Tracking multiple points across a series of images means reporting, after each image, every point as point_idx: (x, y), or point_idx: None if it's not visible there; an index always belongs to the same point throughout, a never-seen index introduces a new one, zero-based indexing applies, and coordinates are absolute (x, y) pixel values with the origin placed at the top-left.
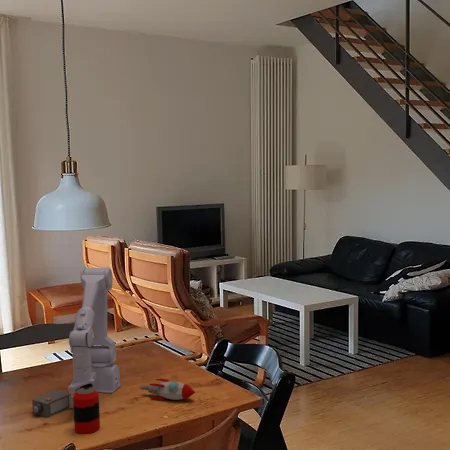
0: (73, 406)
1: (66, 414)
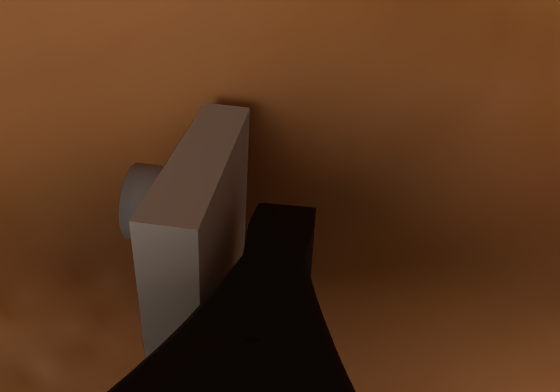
0: None
1: (409, 361)
